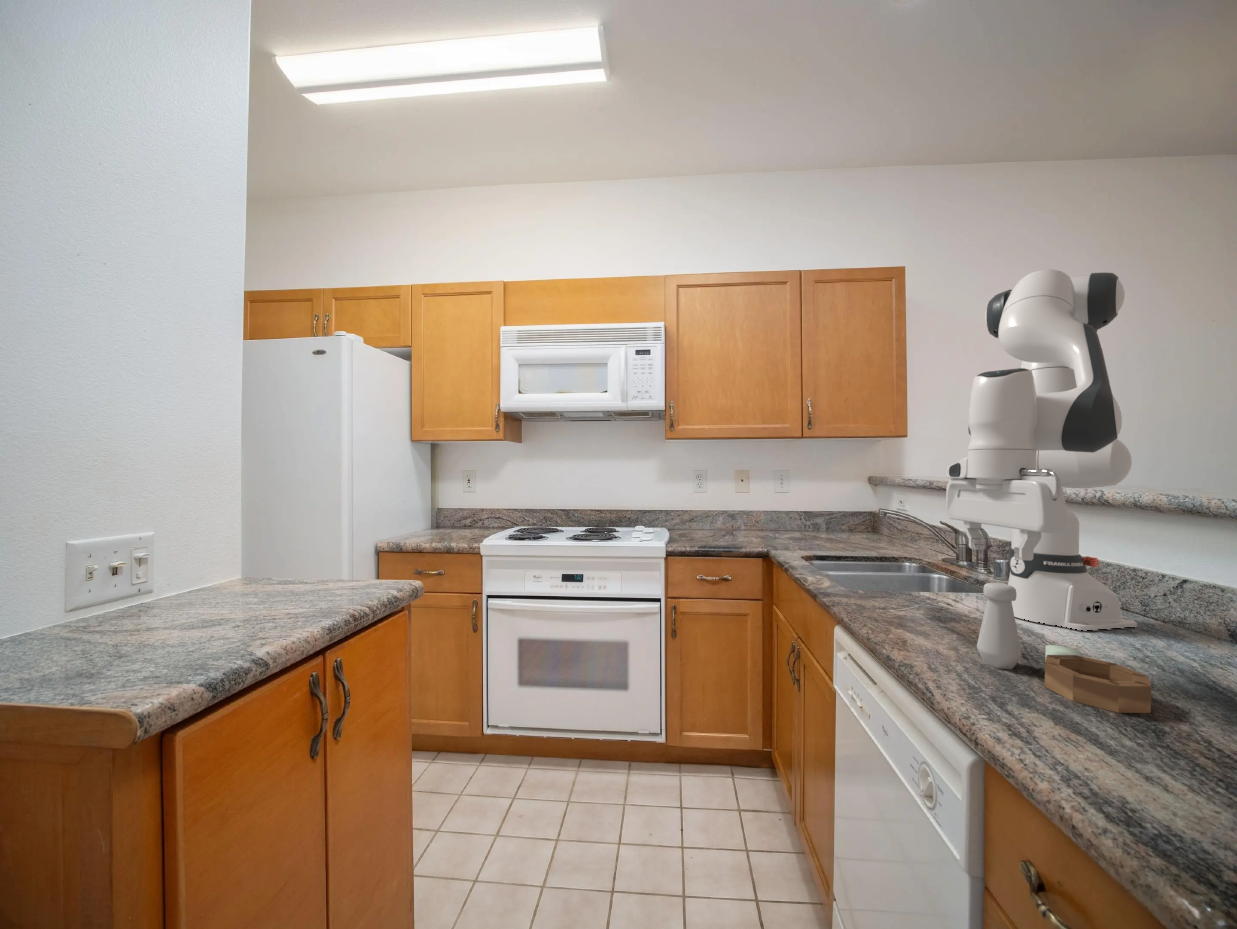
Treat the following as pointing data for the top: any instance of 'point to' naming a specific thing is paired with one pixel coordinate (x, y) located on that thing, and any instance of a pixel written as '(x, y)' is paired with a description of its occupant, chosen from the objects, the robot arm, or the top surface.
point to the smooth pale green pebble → (1061, 651)
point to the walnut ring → (1098, 683)
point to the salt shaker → (999, 628)
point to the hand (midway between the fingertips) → (998, 554)
